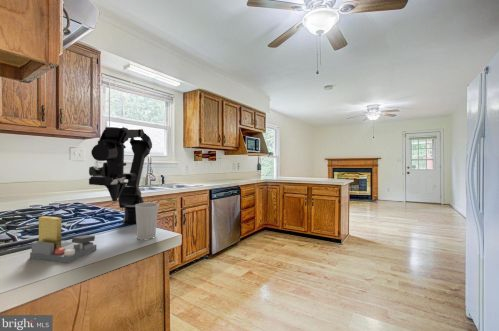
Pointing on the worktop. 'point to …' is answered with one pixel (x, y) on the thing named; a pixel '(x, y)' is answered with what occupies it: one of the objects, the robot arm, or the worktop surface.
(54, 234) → the yellow flat block
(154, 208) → the cup
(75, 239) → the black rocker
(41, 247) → the console
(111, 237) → the worktop surface
